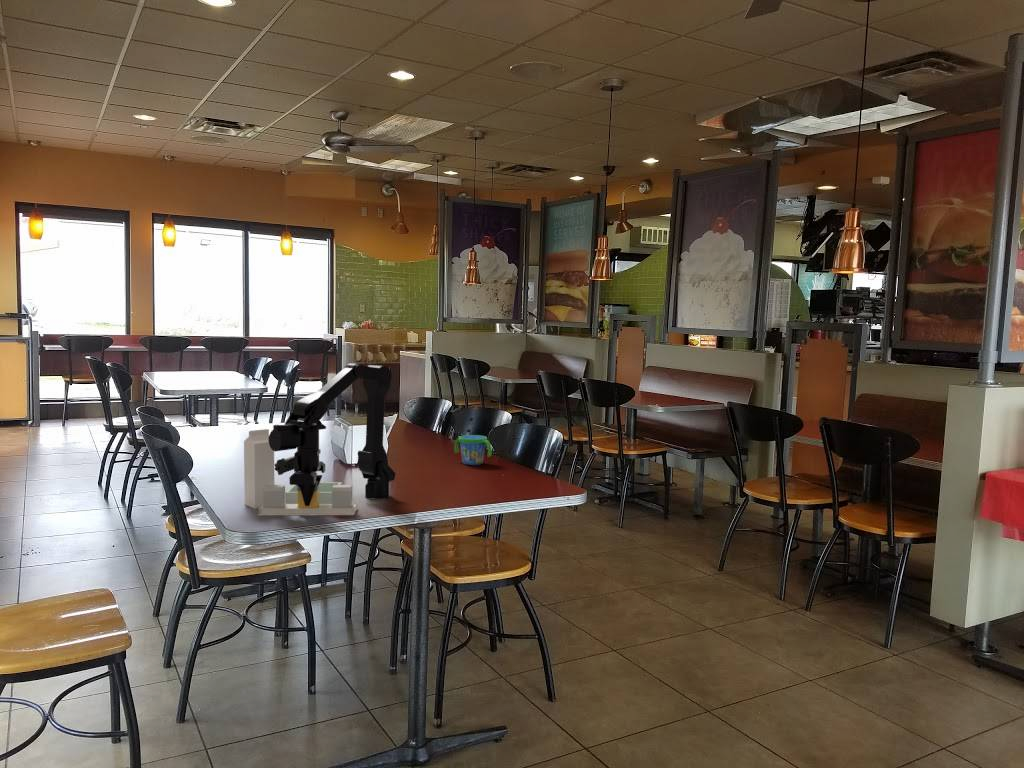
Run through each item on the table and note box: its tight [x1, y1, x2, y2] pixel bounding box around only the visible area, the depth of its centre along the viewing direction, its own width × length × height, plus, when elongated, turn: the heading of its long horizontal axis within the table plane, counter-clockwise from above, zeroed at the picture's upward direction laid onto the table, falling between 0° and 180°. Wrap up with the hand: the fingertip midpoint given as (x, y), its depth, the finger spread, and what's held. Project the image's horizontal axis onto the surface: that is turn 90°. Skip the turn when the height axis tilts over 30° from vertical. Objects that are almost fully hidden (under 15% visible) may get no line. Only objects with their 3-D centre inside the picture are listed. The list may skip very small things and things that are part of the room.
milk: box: [243, 428, 275, 509], centre depth 210 cm, size 6×6×22 cm
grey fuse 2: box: [332, 484, 353, 508], centre depth 204 cm, size 5×3×7 cm, turn 94°
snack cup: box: [453, 434, 493, 466], centre depth 282 cm, size 16×10×10 cm
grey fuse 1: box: [263, 484, 286, 508], centre depth 203 cm, size 5×3×7 cm, turn 94°
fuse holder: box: [257, 503, 358, 516], centre depth 204 cm, size 25×7×2 cm, turn 94°
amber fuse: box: [298, 485, 319, 508], centre depth 204 cm, size 5×3×7 cm, turn 94°
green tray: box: [285, 481, 343, 504], centre depth 218 cm, size 14×14×4 cm
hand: (308, 504), depth 204 cm, fingers closed on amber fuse, 3 cm apart
